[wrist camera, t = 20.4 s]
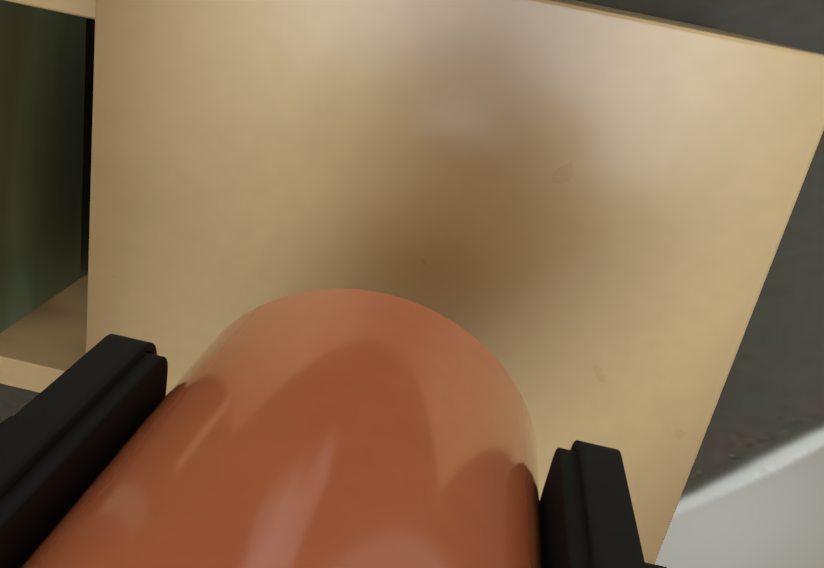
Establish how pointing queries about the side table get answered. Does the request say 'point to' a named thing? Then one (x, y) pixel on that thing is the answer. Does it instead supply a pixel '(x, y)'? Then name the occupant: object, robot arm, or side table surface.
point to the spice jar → (321, 451)
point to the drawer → (41, 189)
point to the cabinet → (459, 192)
